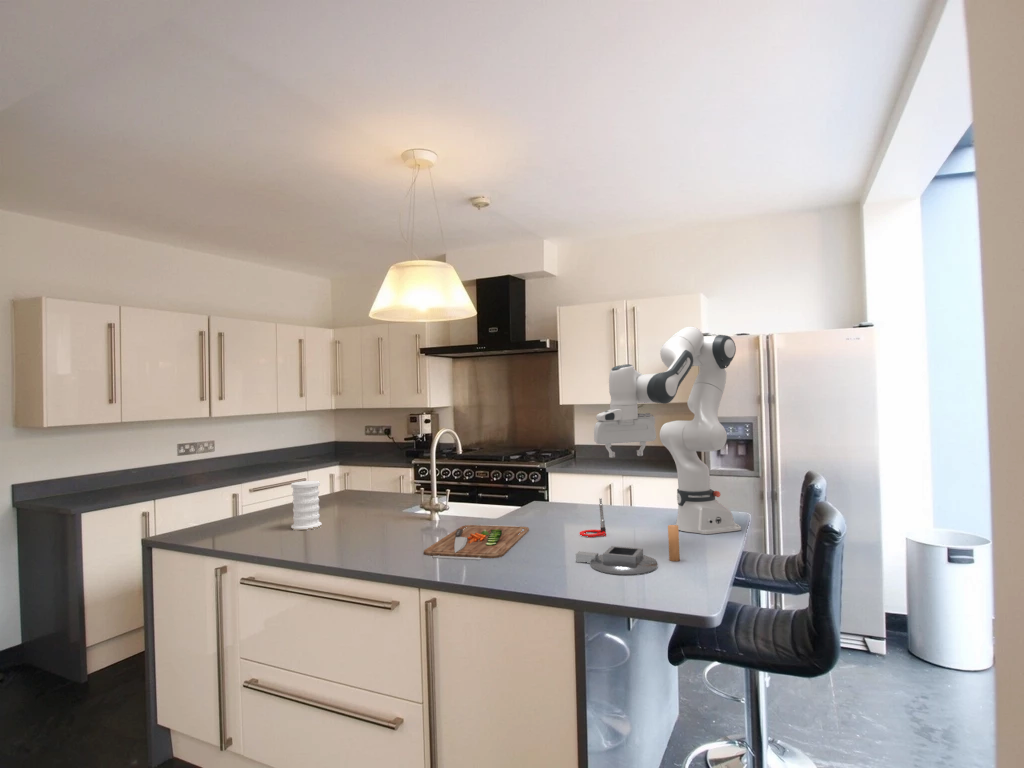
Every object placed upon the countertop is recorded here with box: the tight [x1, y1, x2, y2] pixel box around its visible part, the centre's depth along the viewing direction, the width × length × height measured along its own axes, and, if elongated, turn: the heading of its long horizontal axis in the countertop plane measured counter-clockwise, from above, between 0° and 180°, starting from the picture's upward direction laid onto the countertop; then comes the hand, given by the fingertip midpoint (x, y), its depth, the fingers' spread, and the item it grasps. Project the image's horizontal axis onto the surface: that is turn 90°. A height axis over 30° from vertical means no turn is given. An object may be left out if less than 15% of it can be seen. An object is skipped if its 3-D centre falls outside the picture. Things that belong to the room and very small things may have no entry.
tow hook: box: [578, 497, 607, 538], centre depth 206 cm, size 8×13×9 cm
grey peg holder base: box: [575, 545, 658, 576], centre depth 169 cm, size 19×24×4 cm
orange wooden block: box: [667, 524, 681, 562], centre depth 171 cm, size 3×3×10 cm
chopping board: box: [423, 524, 530, 561], centre depth 201 cm, size 45×27×3 cm, turn 164°
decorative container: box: [290, 480, 323, 529], centre depth 233 cm, size 12×12×18 cm
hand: (626, 456), depth 189 cm, fingers open, 8 cm apart
